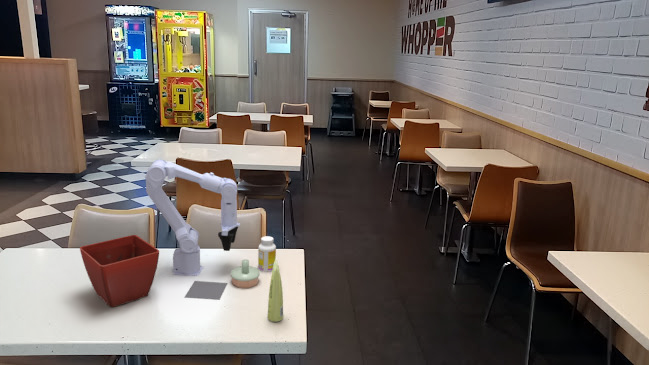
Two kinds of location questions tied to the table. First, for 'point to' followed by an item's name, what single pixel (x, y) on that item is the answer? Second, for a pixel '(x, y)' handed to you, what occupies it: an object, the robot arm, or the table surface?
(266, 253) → the supplement bottle
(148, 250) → the plant pot
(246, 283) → the bowl
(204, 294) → the mat
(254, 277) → the lid
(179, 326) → the table surface
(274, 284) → the tube
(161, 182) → the robot arm
